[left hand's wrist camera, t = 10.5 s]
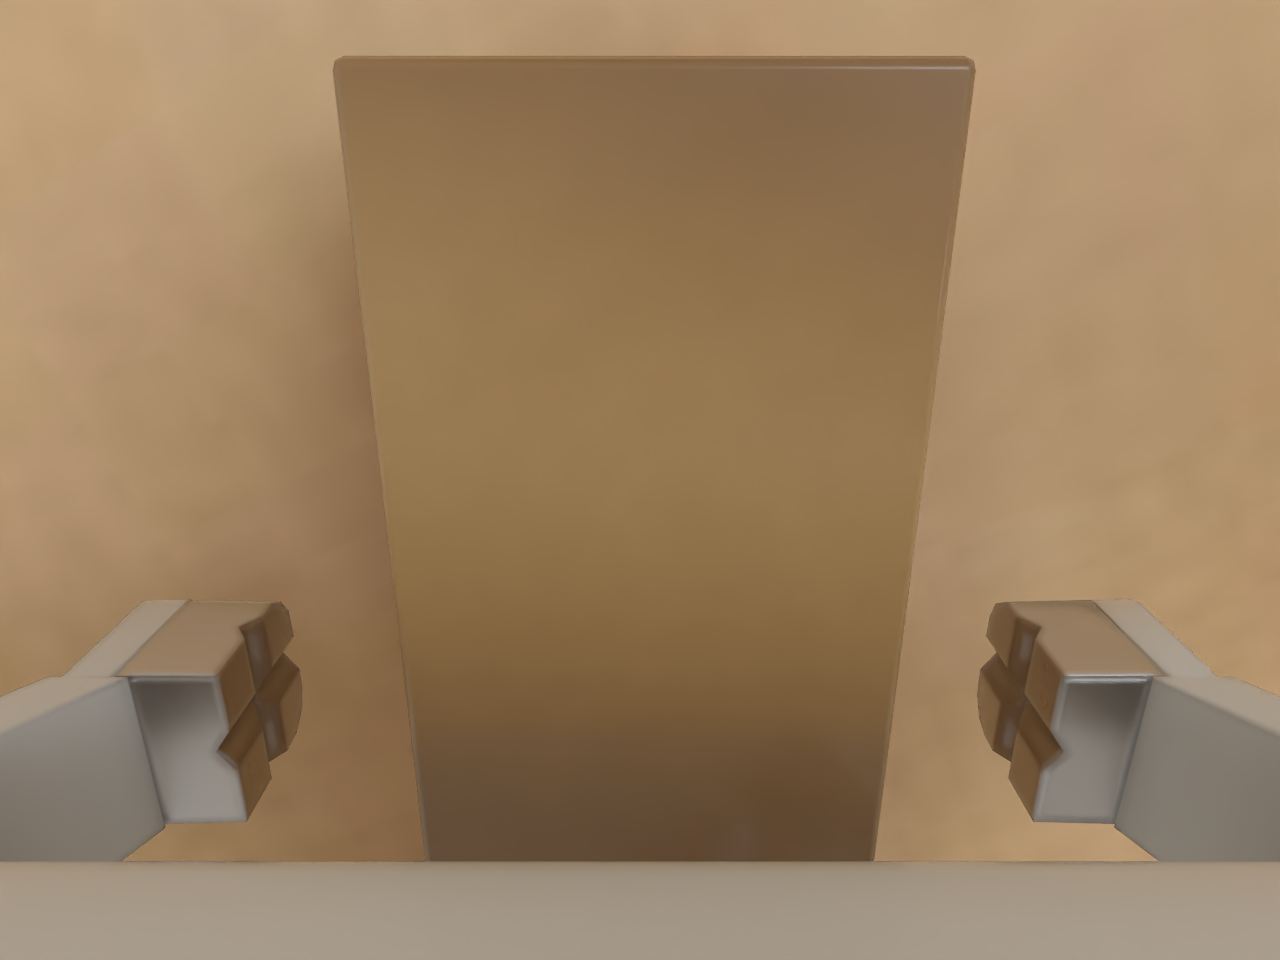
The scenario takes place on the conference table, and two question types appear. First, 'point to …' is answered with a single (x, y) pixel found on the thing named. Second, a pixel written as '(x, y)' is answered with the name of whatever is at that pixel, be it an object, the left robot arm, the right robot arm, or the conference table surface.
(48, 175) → the conference table surface
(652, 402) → the beam
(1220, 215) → the conference table surface
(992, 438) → the conference table surface
